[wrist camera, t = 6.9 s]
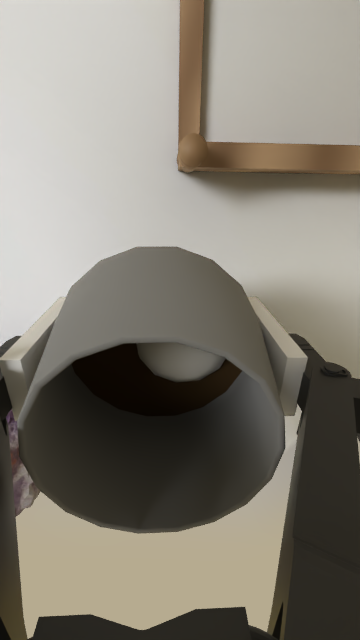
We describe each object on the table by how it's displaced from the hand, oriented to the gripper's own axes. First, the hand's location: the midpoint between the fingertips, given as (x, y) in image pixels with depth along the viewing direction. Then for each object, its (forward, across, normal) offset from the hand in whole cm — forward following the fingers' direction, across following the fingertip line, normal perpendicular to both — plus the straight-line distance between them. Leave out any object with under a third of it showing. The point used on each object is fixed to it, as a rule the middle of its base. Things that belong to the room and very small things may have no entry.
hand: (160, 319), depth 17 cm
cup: (+1, 0, 0) cm, 1 cm away
